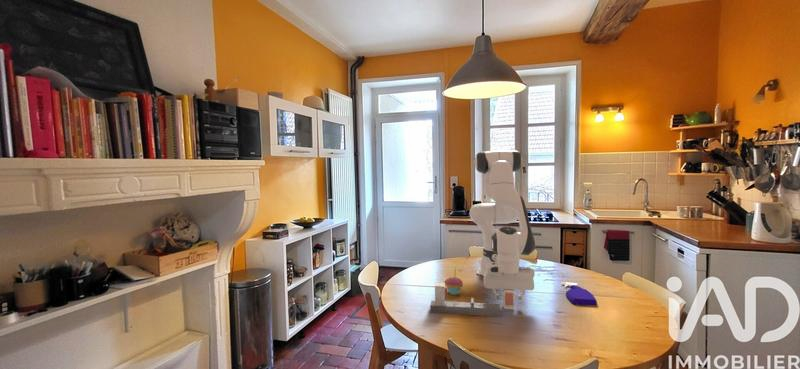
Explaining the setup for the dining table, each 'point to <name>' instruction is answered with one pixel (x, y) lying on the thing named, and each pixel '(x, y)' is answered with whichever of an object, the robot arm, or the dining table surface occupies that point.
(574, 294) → the purple flat bottle
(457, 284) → the cupcake
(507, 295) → the finger block
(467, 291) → the dining table surface
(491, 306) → the rail
